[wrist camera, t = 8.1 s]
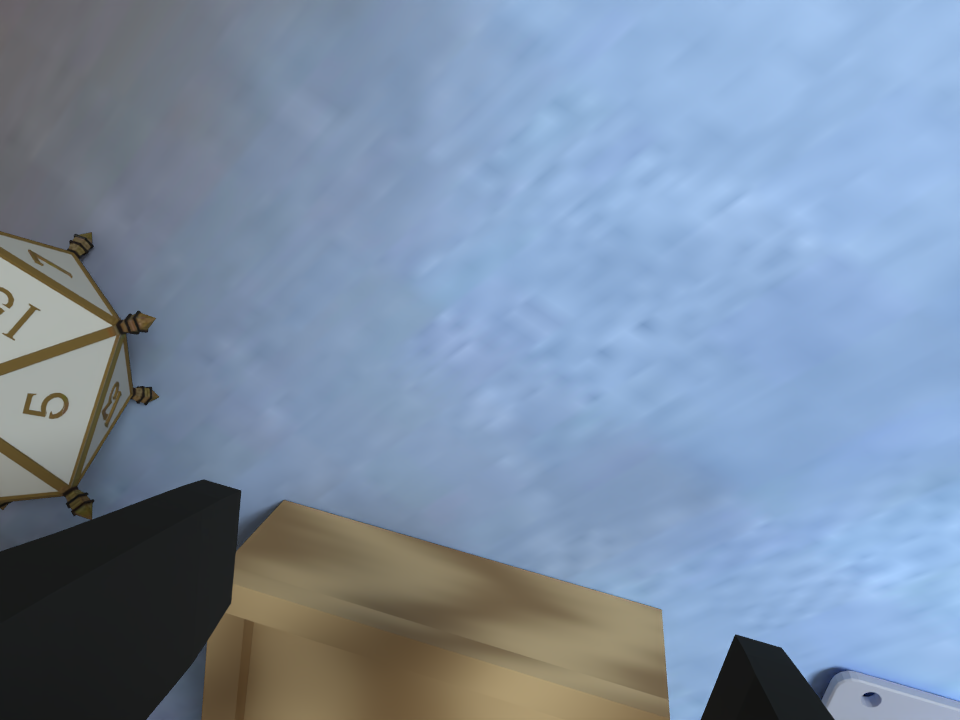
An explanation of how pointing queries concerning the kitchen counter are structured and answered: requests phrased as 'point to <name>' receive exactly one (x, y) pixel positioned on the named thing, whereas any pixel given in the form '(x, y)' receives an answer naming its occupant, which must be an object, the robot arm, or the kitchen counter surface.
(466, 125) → the kitchen counter surface
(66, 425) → the game die
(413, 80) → the kitchen counter surface
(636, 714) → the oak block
